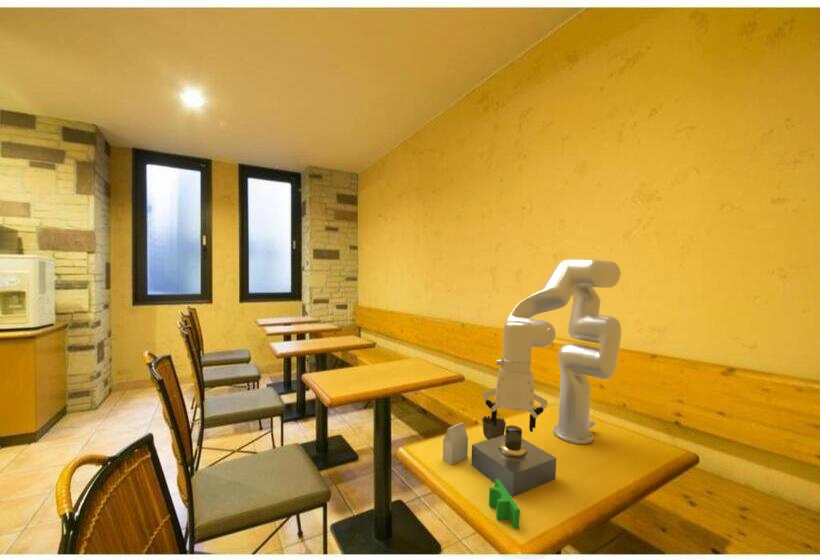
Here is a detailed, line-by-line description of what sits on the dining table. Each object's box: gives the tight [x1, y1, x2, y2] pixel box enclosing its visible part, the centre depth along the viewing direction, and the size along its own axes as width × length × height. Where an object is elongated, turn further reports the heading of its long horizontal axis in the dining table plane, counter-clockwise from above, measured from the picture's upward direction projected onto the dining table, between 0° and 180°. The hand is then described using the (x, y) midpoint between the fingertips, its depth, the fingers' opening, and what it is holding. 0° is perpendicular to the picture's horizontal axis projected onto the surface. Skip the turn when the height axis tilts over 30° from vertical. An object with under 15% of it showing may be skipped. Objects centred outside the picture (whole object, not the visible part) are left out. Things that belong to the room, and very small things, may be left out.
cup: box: [481, 415, 507, 440], centre depth 114 cm, size 8×7×8 cm
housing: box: [470, 434, 557, 498], centre depth 99 cm, size 16×16×6 cm
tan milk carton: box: [442, 422, 469, 466], centre depth 105 cm, size 4×7×10 cm, turn 130°
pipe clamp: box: [488, 479, 521, 530], centre depth 83 cm, size 11×4×5 cm, turn 9°
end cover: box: [500, 424, 526, 458], centre depth 99 cm, size 7×7×11 cm
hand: (512, 427), depth 98 cm, fingers open, 9 cm apart
